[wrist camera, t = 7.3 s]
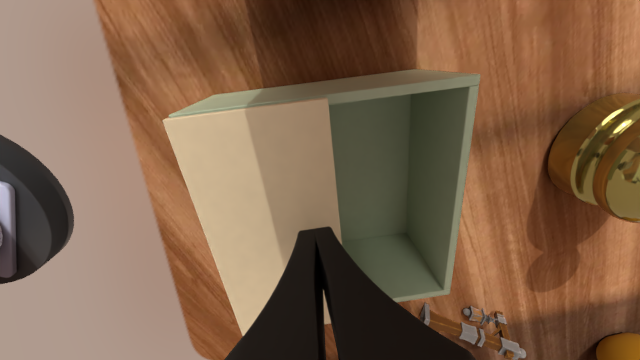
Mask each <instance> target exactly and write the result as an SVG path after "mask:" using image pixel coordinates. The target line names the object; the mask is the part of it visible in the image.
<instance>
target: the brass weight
mask: <svg viewBox="0 0 640 360" xmlns="http://www.w3.org/2000/svg"><path fill="white" fill-rule="evenodd" d="M548 172H549V176H550V179H551V181H552V182H553V183H554V185H555V186H556V187H558V188H559V189H561V190H563V191H565V192H567V193H569V194H571V195H573V196H575V197H577V198H579V199H580V200H581V201H583V202H585V203H587V204H590V205H597V206H600V208H602V209H603V210H604V211H606V212H607V213H609V214H610V215H612V216H613V217H615V218H617V219H619V220H623V221H626V222H632V223H640V94H634V93H618V94H613V95H609V96H606V97H603V98H601V99H599V100H597V101H595V102H593V103H591V104H589V105H588V106H586V107H585V108H583V109H582V110H581V111H579V112H578V113H577V114H576V115H575V116H573V117H572V118H571V119H570V120H569V121H568V122H567V124H566V125H565V126H564V127H563V128H562V130H561V131H560V132H559V134H558V136H557V137H556V139H555V141H554V143H553V145H552V147H551V150H550V153H549V158H548Z"/></svg>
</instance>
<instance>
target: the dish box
mask: <svg viewBox="0 0 640 360" xmlns="http://www.w3.org/2000/svg"><path fill="white" fill-rule="evenodd" d="M479 82H480V74H469V73H457V72H445V71H432V70H420V69H412V70H404V71H396V72H389V73H381V74H373V75H365V76H358V77H350V78H342V79H334V80H327V81H319V82H311V83H303V84H295V85H288V86H280V87H272V88H264V89H257V90H249V91H241V92H233V93H225V94H218V95H213V96H210V97H208V98H206V99H204V100H201V101H199V102H197V103H195V104H193V105H190V106H188V107H186V108H184V109H181V110H179V111H177V112H175V113H172V114H170V115H169V118H174V117H181V116H189V115H196V114H204V113H211V112H219V111H226V110H234V109H242V108H249V107H257V106H264V105H272V104H279V103H287V102H295V101H302V100H310V99H317V98H325V97H327V98H328V105H329V116H330V126H331V137H332V147H333V157H334V168H335V178H336V188H337V199H338V209H339V219H340V230H341V240H342V246H343V248H344V249H345V250H346V252H347V253H348V254H349V255H350V257H351V258H352V259H353V261H354V262H355V263H356V264H357V265H358V266H359V267H360V269H361V270H362V271H363V272H364V273H365V274H366V275H367V276H368V277H369V278H370V279H371V280H372V281H373V282H374V283H375V284H376V285H377V286H378V287H379V288H380V289H381V290H382V291H384V292H385V293H386V294H387V295H388V296H389V297H390V298H392V299H393V300H394V301H395V302H396V303H397V302H403V301H409V300H416V299H422V298H428V297H434V296H441V295H447V294H450V287H451V280H452V273H453V266H454V259H455V252H456V245H457V238H458V231H459V224H460V216H461V209H462V202H463V195H464V188H465V181H466V174H467V167H468V160H469V153H470V145H471V138H472V131H473V124H474V117H475V110H476V103H477V96H478V89H479V86H478V85H479Z"/></svg>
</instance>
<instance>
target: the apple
mask: <svg viewBox="0 0 640 360" xmlns="http://www.w3.org/2000/svg"><path fill="white" fill-rule="evenodd" d="M596 356H597V359H598V360H640V335H639V334H634V333H621V334H617V335H612V336H608V337H605V338H604V339H603V340H602V341H600V342H599V344H598V346H597V348H596Z"/></svg>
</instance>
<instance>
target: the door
mask: <svg viewBox="0 0 640 360" xmlns="http://www.w3.org/2000/svg"><path fill="white" fill-rule="evenodd" d="M163 124H164V126H165V129H166V132H167V134H168V137H169V140H170V142H171V145H172V148H173V150H174V153H175V156H176V158H177V161H178V164H179V167H180V169H181V172H182V175H183V177H184V180H185V183H186V185H187V188H188V191H189V193H190V196H191V199H192V201H193V204H194V207H195V209H196V212H197V215H198V217H199V220H200V223H201V226H202V228H203V231H204V234H205V236H206V239H207V242H208V244H209V247H210V250H211V252H212V255H213V258H214V260H215V263H216V266H217V268H218V271H219V274H220V276H221V279H222V282H223V285H224V287H225V290H226V293H227V295H228V298H229V301H230V303H231V306H232V309H233V311H234V314H235V317H236V319H237V322H238V325H239V327H240V330H241V333H242V335H243V336H244V335H245V333H246V332H247V331H248V329H249V328H250V327H251V325H252V324H253V322H254V321H255V320H256V318H257V317H258V315H259V314H260V312H261V311H262V309H263V308H264V306H265V305H266V303H267V301H268V300H269V298H270V297H271V295H272V293H273V291H274V290H275V288H276V286H277V284H278V282H279V280H280V278H281V276H282V274H283V272H284V270H285V268H286V266H287V263H288V261H289V259H290V256H291V254H292V251H293V248H294V246H295V243H296V239H297V235H298V232H299V231H301V230H308V229H315V228H321V227H328V226H329V227H331V228H332V230H333V232H334V234H335V236H336V237H337V239H338V240H339V242H340V243H341V245H342V240H341V230H340V219H339V209H338V199H337V188H336V178H335V168H334V157H333V147H332V137H331V126H330V116H329V105H328V98H327V97H325V98H317V99H310V100H302V101H295V102H287V103H279V104H272V105H264V106H257V107H249V108H242V109H234V110H226V111H219V112H211V113H204V114H196V115H189V116H181V117H174V118H166V119H164V120H163ZM323 299H324V324H330V323H331V320H330V316H329V312H328V307H327V303H326V299H325V295H324V290H323Z"/></svg>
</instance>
